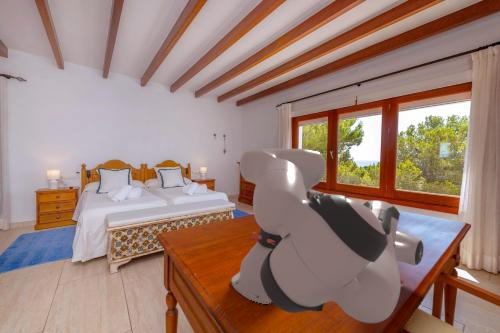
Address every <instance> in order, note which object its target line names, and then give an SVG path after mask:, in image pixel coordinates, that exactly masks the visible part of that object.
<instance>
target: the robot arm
mask: <svg viewBox="0 0 500 333" xmlns="http://www.w3.org/2000/svg"><path fill="white" fill-rule="evenodd" d="M239 161H240V162H239V172H240V175H241V177H242V178H243V179H244V181H247V182H249V183H252V184H254V185H255V187H254V191H253V197H252V198H253V200H252V208H253V215H254V219H255V221H256V223H257V224H258V226H259V227H260V229H259V233H257V231H253V232H252V234H251V239H253V240H255V241H257V242H256V243H255V244H254V245H253V247H252V248H251V249H250V250H249V251H248V253H247V254H246V256H245V257H244V258H242V260H241V263H240V269H239V272H238V273H236V274H235V275H234V276H232V277H231V280H230V281H231V285H232V287H233V288H234V289H235V291H236V292H238V293H239V294H241V295H242V296H243V297H245V298H246V299H247V300H250V301H251V300H252V301H251V302H253V301H255V302H254V303H256V302H258V303H257V304H259V303H262V304H261V305H263V304H268V305H270V304H272V303H273V304H274V305H275V306H276V307H278V308H279V309H280V310H282V311H285V312H287V313H291V314H299V313H305V312H323V309H324V305H325V304H326V303H330V302H334V303H336V304H338V306H339V307H340V308H341V309H342V310H343V311H344V313H345V314H347V315H348V316H350V317H351V318H353V319H355V320H356V321H358V322H362V323H365V324H378V323H382V322H383V321H385V320H387V319H388V318H389V317H390V316H391V315H392V314H393V313H394V310H395V308H396V306H397V304H398V303H399V302H398V301H399V300H400V299H399V298H400V295H401V276H400V275H401V274H400V269H399V264H398V262H399V263H404V264H408V265H411V266H418V265H419V264H420V263H421V262H422V258H423V255H424V249H425V248H424V243H423V241H422V240H421V239H420V238H418V237H416V236H414V235H411V234H409V233H406V232H404V231H402V230H401V231H400V230H399V229H398V223H399V220H400V215H401V212H399V210H398V208H396V207H395V205H393V204H391V203H389V202H387V201H383V200H377V199H376V200H375V199H373V200H367V201H366V202H364V203H362V202H360V201H359V200H358V201H357V200H355V199H352V198H351V197H349V196H348V195H342V194H333V193H331V194H326V195H324V196H322V195H320V194H314V195H312V196H311V200H312V202H310V201H309V200H308V198H307V196H306V193H307V192H308V191H309V190H310V189H311V190H312V188H313V187H314V186H316V185H318V184H319V183H320V182H321V181H322V180H323V178H324V177H325V176H326V172H327V164H326V163H327V162H326V160H325V157H324V156H323V155H322V153H321V152H319V151H315V150H311V149H306V148H256V149H251V150H246V151H245V152H244V153H243V155H242V156H241V158H240V160H239ZM271 302H272V303H271ZM269 303H270V304H269Z"/></svg>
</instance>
